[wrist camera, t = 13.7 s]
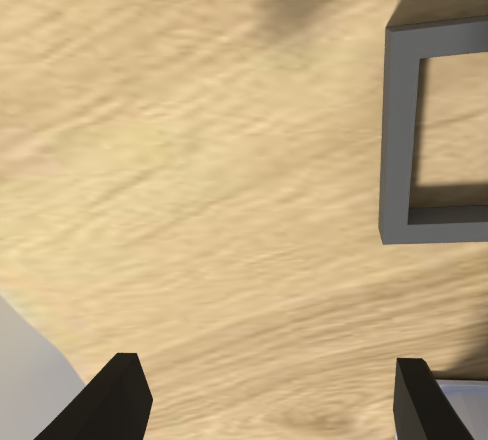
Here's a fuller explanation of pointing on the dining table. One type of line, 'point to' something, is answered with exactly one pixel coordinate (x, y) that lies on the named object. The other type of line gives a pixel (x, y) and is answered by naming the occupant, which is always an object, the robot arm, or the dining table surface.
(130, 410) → the robot arm
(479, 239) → the grey rectangular frame
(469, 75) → the dining table surface
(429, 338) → the dining table surface
